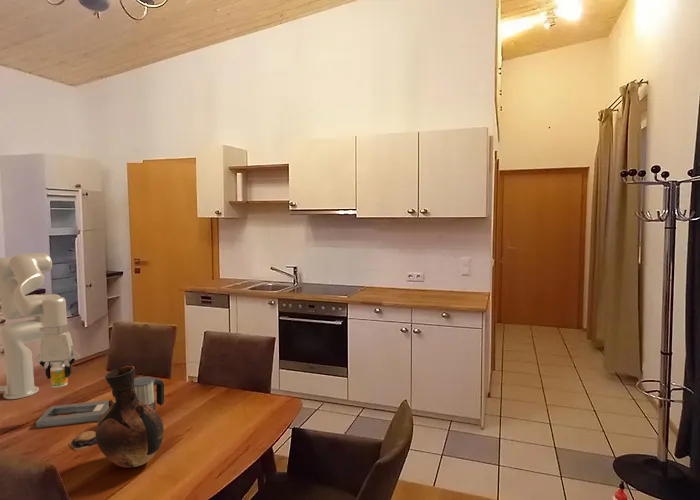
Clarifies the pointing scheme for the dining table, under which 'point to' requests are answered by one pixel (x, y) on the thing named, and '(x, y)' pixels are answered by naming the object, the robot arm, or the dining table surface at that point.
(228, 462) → the dining table surface
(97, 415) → the grey rectangular frame
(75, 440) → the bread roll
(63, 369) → the supplement bottle
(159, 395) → the milk frother
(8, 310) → the robot arm
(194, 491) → the dining table surface
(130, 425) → the ceramic vessel
